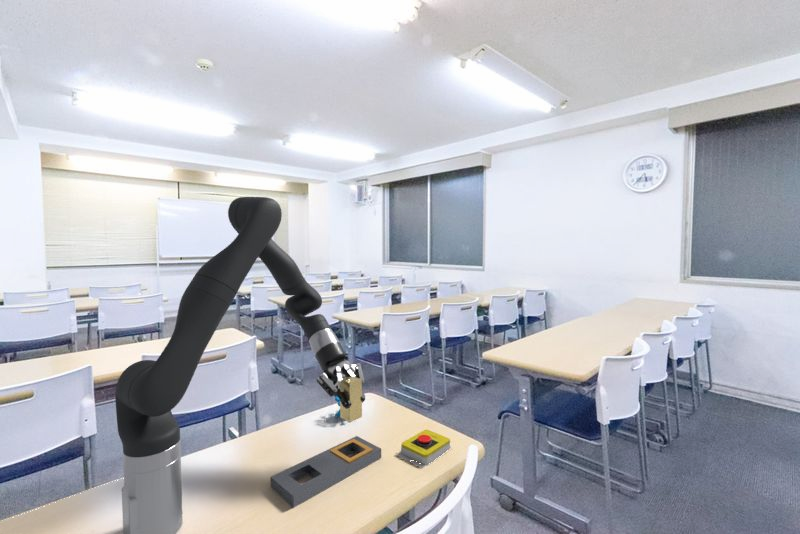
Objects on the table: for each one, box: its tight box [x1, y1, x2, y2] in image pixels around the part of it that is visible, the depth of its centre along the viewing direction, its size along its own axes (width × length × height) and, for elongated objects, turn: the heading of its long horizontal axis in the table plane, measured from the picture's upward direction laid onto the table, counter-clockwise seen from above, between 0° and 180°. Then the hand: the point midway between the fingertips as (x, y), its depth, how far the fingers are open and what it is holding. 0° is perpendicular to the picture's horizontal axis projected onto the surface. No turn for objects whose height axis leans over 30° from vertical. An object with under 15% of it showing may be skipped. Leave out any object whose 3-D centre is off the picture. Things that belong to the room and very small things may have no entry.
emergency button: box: [397, 429, 451, 469], centre depth 102 cm, size 9×4×15 cm
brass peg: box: [339, 376, 363, 423], centre depth 96 cm, size 4×4×10 cm
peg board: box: [270, 435, 382, 508], centre depth 92 cm, size 26×10×3 cm, turn 137°
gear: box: [334, 396, 340, 419], centre depth 123 cm, size 11×6×10 cm
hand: (356, 403), depth 95 cm, fingers closed on brass peg, 4 cm apart
